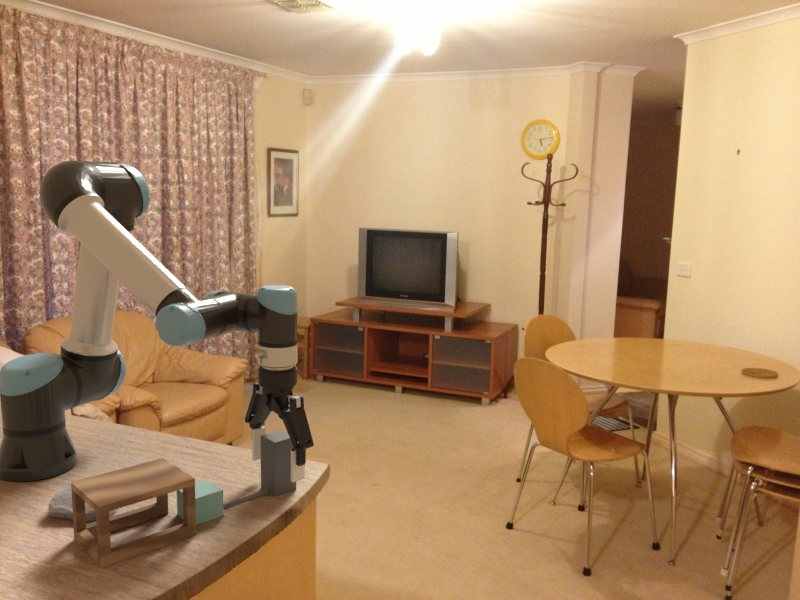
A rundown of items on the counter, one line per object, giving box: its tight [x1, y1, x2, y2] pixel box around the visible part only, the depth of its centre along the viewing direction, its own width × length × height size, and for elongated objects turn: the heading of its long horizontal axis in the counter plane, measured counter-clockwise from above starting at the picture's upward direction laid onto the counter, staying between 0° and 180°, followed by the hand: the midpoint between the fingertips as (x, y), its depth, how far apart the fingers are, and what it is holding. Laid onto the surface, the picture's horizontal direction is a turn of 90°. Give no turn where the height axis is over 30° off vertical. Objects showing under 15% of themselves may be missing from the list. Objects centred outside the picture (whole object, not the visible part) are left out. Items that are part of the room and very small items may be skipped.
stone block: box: [47, 482, 120, 522], centre depth 127 cm, size 12×5×10 cm
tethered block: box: [176, 429, 297, 526], centre depth 131 cm, size 6×22×11 cm, turn 134°
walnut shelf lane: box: [70, 457, 197, 569], centre depth 117 cm, size 12×16×10 cm
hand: (277, 469), depth 137 cm, fingers open, 13 cm apart
